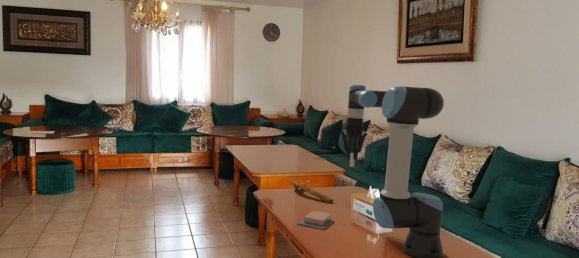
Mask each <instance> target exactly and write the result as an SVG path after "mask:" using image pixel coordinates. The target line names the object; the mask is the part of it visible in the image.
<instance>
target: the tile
mask: <svg viewBox="0 0 579 258" xmlns="http://www.w3.org/2000/svg"><path fill="white" fill-rule="evenodd" d="M303 219H304V222H305V223H310V224H315V225H320V226H323V225H324V224H326V223H327V222H328V221H329V220H332V214H330V213H327V212H321V211H316V210H313V211H311V212H309V213H307V214H306V215H305V216H303Z"/></svg>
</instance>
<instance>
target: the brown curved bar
mask: <svg viewBox="0 0 579 258" xmlns="http://www.w3.org/2000/svg"><path fill="white" fill-rule="evenodd" d="M291 184H292V185H293V188H294V190H298V189H301V190H302V191H305V192H307V193H308V194H310V195H312V196H314V197H316V198H317V199H319V200H320V201H323V202H324V203H326V204H331V203H333V202H334V198H331V197H329V196H327V195H325V194H323V193H321V192H319V191H316V190H314V189H313V188H310V187H309V186H307V184H305V183H299V182H298V181H296V180H293V181H292V183H291Z"/></svg>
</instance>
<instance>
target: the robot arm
mask: <svg viewBox="0 0 579 258" xmlns="http://www.w3.org/2000/svg"><path fill="white" fill-rule="evenodd" d="M444 100H445V99H444V97H443V96H442V94H441V93H440V92H439V91H438V90H436V89H433V88H431V87H416V86H415V87H414V86H402V85H401V86H392V87H389V89H388V90H372V89H371V90H368V89H367V90H366V86H365V85H363V84H351V85H349V89H348V102H347V103H348V105H347V118H346V127H345V129H343V130H341V131H340V133H341V136H342V140H343V141H342V142H343V146H344V151H345V152H348V153H347V155H348V157H347V159H348V160H349V167H351V168H354V167H355V160H357V158H358V153H361V152H362V149H363V146H364V143H365V140H366V138H367V136H368V135H369V134H368V132H366V131H364V128H363V127H364V118H363V117H364V113H365V109H366V108H367V109H369V108H381V110H382V112H381V113H382V116H383V117H384V118H386V123H387V124H388V125H389V127H390V129H389V137H388V146H387V147H388V148H387V158H386V167H385V168H386V170H385V177H384V178H385V181H384V188H383V189H381V190H380V191H379V197H378V196H377V197H375V198H374V200H373V203H372V211H373V216H374V220H375V222H376V224H377V225H378V226H379V227H381V228H382V229H390V230H394V229H409V230H408V233H407V235H406V237H405V240H404V242H403V244H402V245H403V246H402V251H403V252H404V254H406V255H408V256H410V257H412V258H442V257H444V256H443V253H444V249H443V244H442V239H441V229H442V228H441V227H442V226H441V225H442V218H443V217H442V216H443V208H444V207H443V200H442V199H441V198H440V197H438V196H435V195H432V194H429V193H425V192H416V191H415V192H412V194H411V193H410V192H409V190H408V189H409V179H410V168H411V160H412V159H411V158H412V152H413V151H412V149H413V139H414V129H415V128H416V127H417V126H419V121H420V120H423V119H424V120H426V119H427V120H429V119H432V118H435V117H437V116H438V115H439V114H440V113H441V112H442V111H443V109H444V106H445V105H444V104H445V103H444ZM347 134H348V136H347ZM360 136H361V139H359V138H360ZM359 140H360V141H359Z"/></svg>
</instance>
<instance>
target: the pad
mask: <svg viewBox="0 0 579 258" xmlns="http://www.w3.org/2000/svg"><path fill="white" fill-rule="evenodd" d="M334 222H335V220H334V219H333V220H332V219H331V220H329V221H328V222H327V223H326V224H324V225H323V226H320V225H315V224H310V223H305V222H304V218H303V219H301V220H300V221H298V222H297V226H303V227H307V228H312V229H319V230H323V231H326V229H327V228H329V227H330V226H331V225H332V224H334Z"/></svg>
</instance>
